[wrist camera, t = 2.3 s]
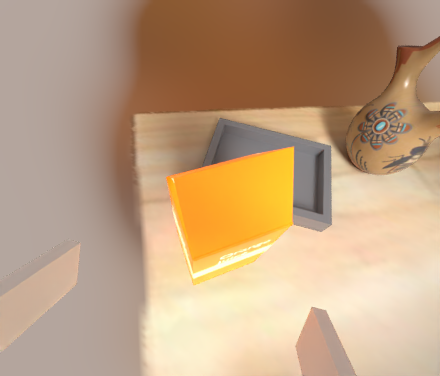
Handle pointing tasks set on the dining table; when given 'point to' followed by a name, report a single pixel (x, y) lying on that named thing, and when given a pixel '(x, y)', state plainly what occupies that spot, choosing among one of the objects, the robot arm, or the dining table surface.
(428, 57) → the ceramic vessel
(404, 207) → the dining table surface
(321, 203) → the tray
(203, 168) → the orange juice
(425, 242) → the dining table surface
